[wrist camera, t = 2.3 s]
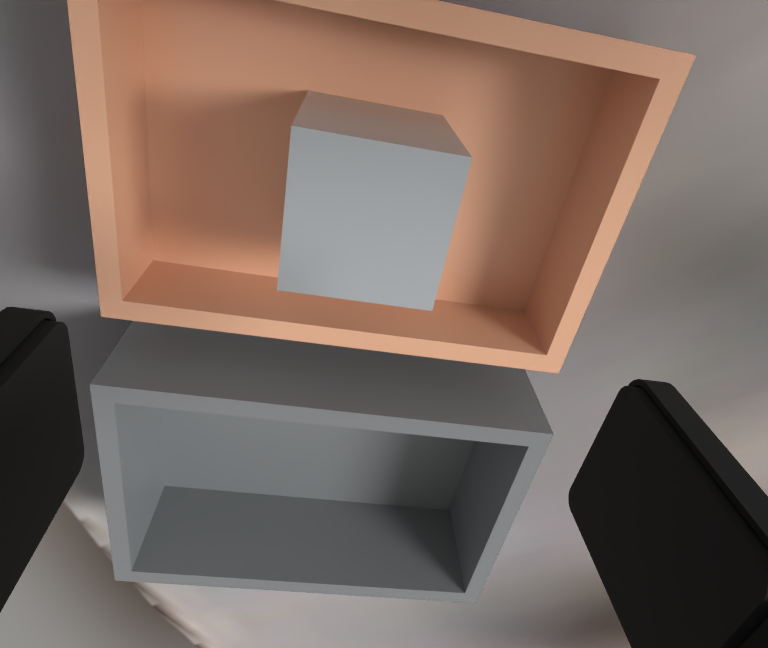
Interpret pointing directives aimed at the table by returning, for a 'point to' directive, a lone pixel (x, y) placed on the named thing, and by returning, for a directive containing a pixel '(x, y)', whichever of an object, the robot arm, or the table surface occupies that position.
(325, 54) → the trough
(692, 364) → the table surface
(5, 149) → the table surface
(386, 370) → the bin
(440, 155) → the block
